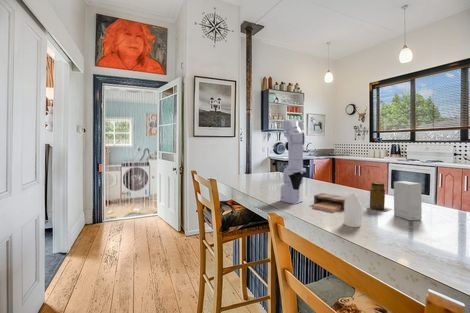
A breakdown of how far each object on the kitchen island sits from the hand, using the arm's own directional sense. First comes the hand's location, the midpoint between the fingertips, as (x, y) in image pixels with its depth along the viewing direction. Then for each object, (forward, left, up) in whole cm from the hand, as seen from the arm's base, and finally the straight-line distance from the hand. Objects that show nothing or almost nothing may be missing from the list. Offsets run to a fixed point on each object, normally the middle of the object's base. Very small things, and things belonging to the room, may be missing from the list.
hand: (295, 189), depth 111 cm
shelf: (+8, +21, -10) cm, 25 cm away
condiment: (+26, +31, -10) cm, 42 cm away
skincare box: (+38, +24, -10) cm, 46 cm away
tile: (+9, +17, -10) cm, 22 cm away
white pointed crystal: (+25, -1, -10) cm, 27 cm away
